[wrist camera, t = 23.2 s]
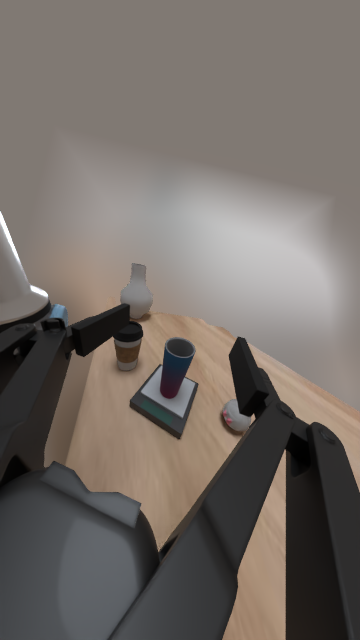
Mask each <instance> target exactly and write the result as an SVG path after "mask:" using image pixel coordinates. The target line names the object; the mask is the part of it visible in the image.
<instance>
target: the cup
mask: <svg viewBox="0 0 360 640" xmlns="http://www.w3.org/2000/svg"><path fill="white" fill-rule="evenodd" d="M194 354H195V346H194V345H193V344H192V343H191V342H190V341H188V340H186V339H184V338H179V337H174V338H170V339H168V340H167V341H166V343H165V350H164V359H163V367H162V375H161V384H160V393H161V394H162V396H163V397H165V398H167V399H172V398H174V397H175V396H176V395H177V394H178V391H179V389H180V387H181V384H182V382H183V380H184V377H185V375H186V373H187V370H188V368H189V366H190V363H191V361H192V359H193V356H194Z"/></svg>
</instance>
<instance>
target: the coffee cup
mask: <svg viewBox="0 0 360 640" xmlns="http://www.w3.org/2000/svg"><path fill="white" fill-rule="evenodd" d="M113 337H114V339H115V340H114V343H115V349H116V355H117V362H118V367H119V368H120V369H121V370H124V371H128V370H131V369H133V368H134V367H135V366H136V364H137V359H138V355H139V350H140V346H141V340H142V339H141V338H142V337H143V330H142V326H141V325H140V324H139V323H137V322H134V321H129V325H127V326H126V327H125V328H123V329H122V330H121V331H119V332H118V333H116V334H115V335H114V336H113Z"/></svg>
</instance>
